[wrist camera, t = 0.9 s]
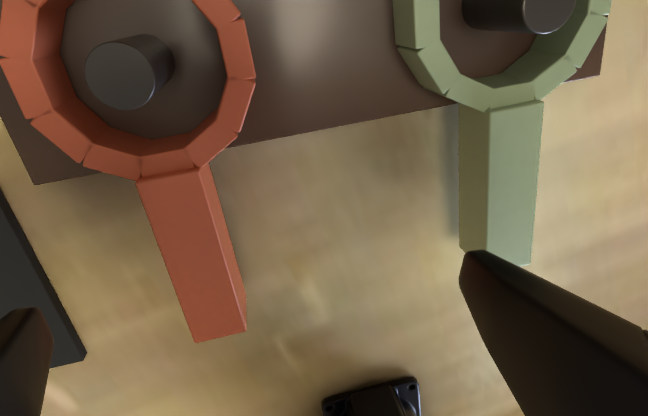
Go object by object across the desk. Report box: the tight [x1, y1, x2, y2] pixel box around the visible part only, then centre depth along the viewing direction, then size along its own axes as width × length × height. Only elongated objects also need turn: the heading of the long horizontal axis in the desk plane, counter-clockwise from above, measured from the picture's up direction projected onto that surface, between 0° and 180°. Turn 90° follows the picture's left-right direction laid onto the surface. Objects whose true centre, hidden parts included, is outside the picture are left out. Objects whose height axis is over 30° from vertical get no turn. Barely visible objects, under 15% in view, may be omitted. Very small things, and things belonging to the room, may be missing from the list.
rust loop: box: [0, 0, 256, 343], centre depth 17 cm, size 16×8×3 cm, turn 9°
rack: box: [0, 0, 608, 185], centre depth 16 cm, size 8×26×6 cm, turn 99°
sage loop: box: [392, 0, 612, 267], centre depth 18 cm, size 16×8×3 cm, turn 9°
